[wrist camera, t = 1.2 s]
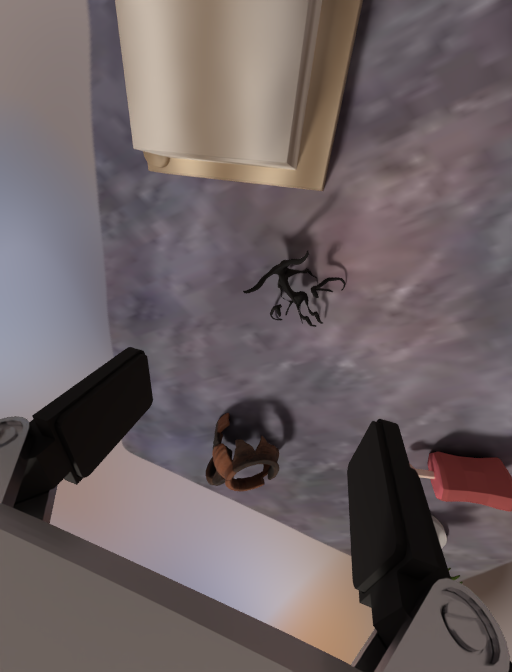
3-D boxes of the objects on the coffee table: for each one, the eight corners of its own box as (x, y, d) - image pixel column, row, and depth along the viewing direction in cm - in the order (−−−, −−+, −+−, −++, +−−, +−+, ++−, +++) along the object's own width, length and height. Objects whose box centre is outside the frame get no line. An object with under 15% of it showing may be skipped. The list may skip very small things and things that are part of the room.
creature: (355, 298, 24) (316, 227, 20) (366, 332, 20) (319, 250, 16) (286, 329, 28) (243, 274, 24) (284, 363, 23) (231, 303, 20)
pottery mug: (234, 396, 34) (247, 451, 27) (280, 414, 39) (300, 464, 32) (187, 446, 38) (188, 505, 31) (234, 456, 43) (244, 509, 36)
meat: (540, 453, 24) (573, 512, 21) (518, 471, 27) (544, 524, 24) (402, 440, 28) (411, 488, 25) (397, 457, 31) (404, 501, 28)
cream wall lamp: (374, -57, 14) (405, -253, 8) (323, 191, 20) (318, 187, 14) (155, -41, 16) (53, -178, 10) (169, 174, 22) (110, 164, 16)
